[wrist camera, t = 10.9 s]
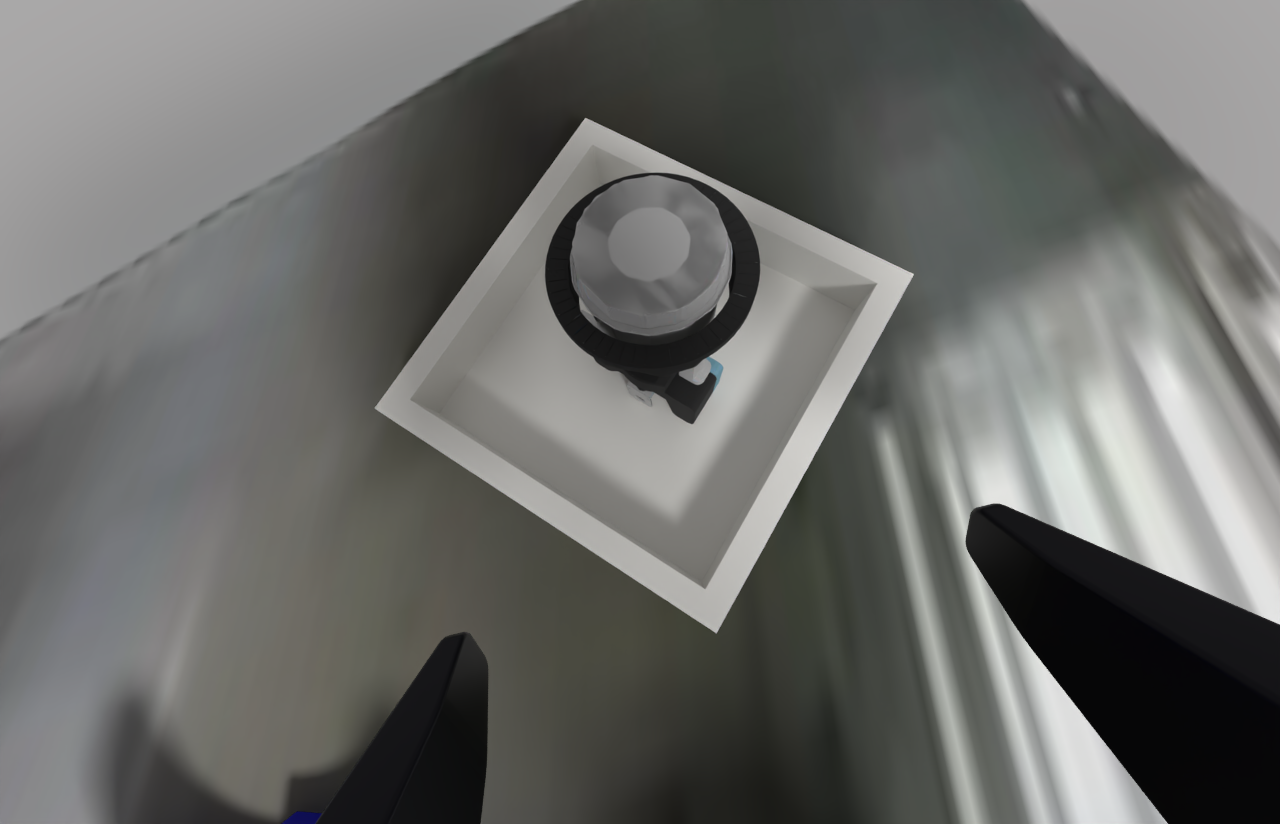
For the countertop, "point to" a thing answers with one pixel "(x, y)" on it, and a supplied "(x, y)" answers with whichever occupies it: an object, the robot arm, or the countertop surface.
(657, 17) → the countertop surface
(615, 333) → the push button
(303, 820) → the blue u-shaped cradle
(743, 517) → the tray
